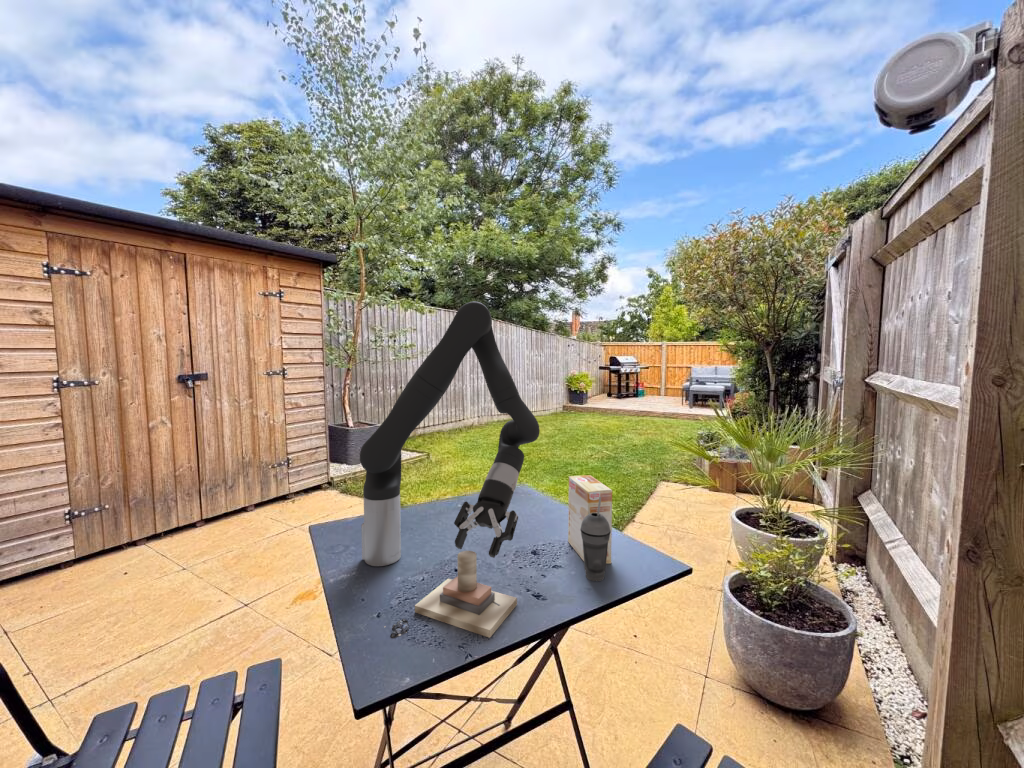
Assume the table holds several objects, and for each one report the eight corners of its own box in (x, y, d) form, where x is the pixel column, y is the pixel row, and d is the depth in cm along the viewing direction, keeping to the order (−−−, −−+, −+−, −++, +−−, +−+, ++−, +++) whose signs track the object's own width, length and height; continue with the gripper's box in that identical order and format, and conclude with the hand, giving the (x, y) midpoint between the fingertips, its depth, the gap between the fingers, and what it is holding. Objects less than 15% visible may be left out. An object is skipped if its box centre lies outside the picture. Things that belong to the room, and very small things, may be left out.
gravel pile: (373, 645, 78) (373, 636, 78) (388, 615, 86) (388, 607, 86) (408, 646, 78) (408, 637, 78) (420, 617, 86) (420, 608, 86)
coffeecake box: (612, 563, 108) (613, 489, 107) (586, 566, 106) (587, 491, 105) (590, 539, 122) (590, 474, 121) (567, 541, 121) (567, 475, 120)
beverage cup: (588, 566, 107) (589, 489, 105) (615, 575, 102) (616, 495, 101) (574, 577, 101) (574, 496, 100) (601, 587, 96) (602, 503, 95)
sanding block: (439, 601, 88) (439, 555, 88) (456, 587, 94) (456, 544, 93) (479, 615, 84) (479, 566, 83) (494, 599, 89) (494, 554, 88)
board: (414, 612, 87) (414, 605, 87) (448, 584, 98) (448, 578, 98) (489, 637, 79) (489, 630, 79) (517, 604, 90) (517, 597, 90)
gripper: (468, 474, 101) (440, 538, 91) (521, 482, 95) (497, 552, 85) (479, 489, 106) (454, 551, 96) (530, 498, 100) (508, 565, 90)
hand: (474, 551), depth 91 cm, fingers open, 8 cm apart
